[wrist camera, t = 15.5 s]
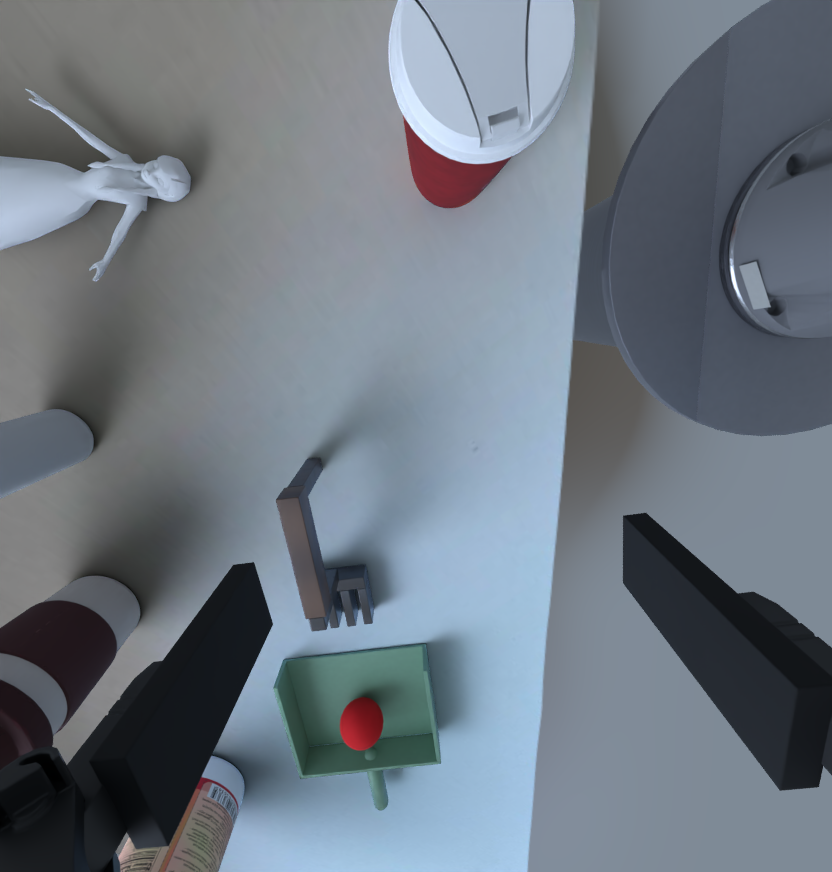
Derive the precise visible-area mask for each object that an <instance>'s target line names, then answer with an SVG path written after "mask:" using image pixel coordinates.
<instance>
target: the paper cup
mask: <svg viewBox="0 0 832 872" xmlns="http://www.w3.org/2000/svg"><path fill="white" fill-rule="evenodd" d="M574 55H575V15H574V5H573V0H398V2H397V5H396V8H395V11H394V14H393V18H392V23H391V29H390V34H389V49H388V56H389V71H390V76H391V82H392V87H393V90H394V93H395V96H396V99H397V102H398V105H399V107H400V109H401V111H402V113H403V118H404V125H405V132H406V139H407V146H408V153H409V159H410V165H411V170H412V175H413V178H414V181H415V184H416V186H417V188H418V189H419V191H420V192H421V194H422V195H423V196H424V197H425V198H426V199H427V200H428V201H429V202H431V203H433V204H434V205H437V206H439V207H443V208H456V207H460V206H463V205H465V204H467V203H469V202H470V201H472V200H473V199H474V198H475V197H476V196H477V195H478V194H479V193H480V192H481V191H482V190H483V189H484V188H485V187H486V186H487V185H488V184H489V183H490V181H491V180H492V179H493V178H494V177H495V176H496V175H497V174H498V172H499V171H500V170H501V169H502V168H503V167H504V166H505V164H506V163H507V162H508V161H509V160H510V159H511V157H512V156H513V155H516V154H517V153H519V152H520V151H522V150H523V149H525V148H526V147H528V146H529V145H530V144H531V143H533V142H534V141H535V140H536V139H537V138H538V137H539V136H540V135H541V134H542V133H543V132H544V130H545V129H546V128H547V127H548V125H549V124H550V123H551V121H552V120H553V118H554V117H555V115H556V113H557V112H558V110H559V108H560V106H561V104H562V102H563V99H564V97H565V95H566V92H567V89H568V86H569V82H570V79H571V75H572V69H573V64H574Z"/></svg>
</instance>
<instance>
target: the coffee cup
mask: <svg viewBox="0 0 832 872" xmlns="http://www.w3.org/2000/svg"><path fill="white" fill-rule="evenodd" d="M139 618H140V606H139V603H138V601H137V599H136V597H135V595H134V594H133V593H132V592H131V591H130V590H129V589H128V588H127V587H126V586H125V585H123V584H122V583H120V582H118V581H116V580H114V579H111V578H108V577H104V576H87V577H82V578H79V579H77V580H75V581H73V582H71V583H70V584H68V585H67V586H65V587H64V588H62V589H61V590H60V591H58V592H57V593H55V594H54V595H52V596H51V597H50V598H48V599H47V600H45V601H44V602H42V603H39V604H36V605H35V606H33V607H31V608H29V609H28V610H26V611H25V612H23V613H22V614H20V615H19V616H18V617H16V618H15V619H13V620H12V621H10V622H9V623H7V624H6V625H4V626H3V627H1V628H0V770H1V769H3V768H4V767H5V766H7V765H8V764H10V763H11V762H13V761H14V760H16V759H17V758H19V757H20V756H22V755H24V754H26V753H28V752H30V751H33V750H35V749H37V748H42V747H47V746H50V747H52V745H53V736H54V734H56V733H57V732H58V731H60V730H61V729H62V728H63V727H64V726H65V725H66V724H67V722H68V721H69V720H70V718H71V717H72V716H73V714H74V713H75V712H76V710H77V709H78V708H79V706H80V705H81V704H82V702H83V701H84V700H85V698H86V697H87V696H88V694H89V693H90V692H91V690H92V689H93V688H94V686H95V685H96V684H97V682H98V681H99V680H100V678H101V677H102V676H103V674H104V673H105V671H106V670H107V669H108V667H109V666H110V665H111V663H112V662H113V660H114V658H115V656H116V653H117V651H118V650H119V649H120V647H121V646H122V645H123V643H124V642H125V641H126V639H127V638H128V637H129V635H130V634H131V633H132V632H133V630H134V629H135V627H136V626H137V624H138V621H139Z"/></svg>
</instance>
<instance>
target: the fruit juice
mask: <svg viewBox="0 0 832 872" xmlns="http://www.w3.org/2000/svg"><path fill="white" fill-rule="evenodd" d="M244 788H245V786H244V780H243V777H242V775H241V773H240V772H239V771H238V770H237V768H236V767H234V766H233V765H232V764H231V763H229V762H227V761H225V760H223V759H221V758H218V757H215V756H211V758H210V760H209V762H208V764H207V766H206V768H205V770H204V772H203V775H202V777H201V779H200V781H199V783H198V785H197V787H196V789H195V792H194V794H193V796H192V798H191V800H190V802H189V804H188V807H187V809H186V811H185V813H184V815H183V817H182V819H181V821H180V824H179V826H178V828H177V830H176V832H175V834H174V836H173V839H172V841H171V843H170V845H169V846H165V847H154V848H143V849H136V848H135V846H134V844H133V843H132V841H131V839H130V837H129V839H128V840H127V842H126V844H125V846H124V848H123V850H122V852H121V854H120V855H119V857H118V859H119V861H120V870H121V872H218V871H219V868H220V865H221V862H222V859H223V856H224V853H225V850H226V847H227V844H228V841H229V839H230V836H231V833H232V830H233V827H234V824H235V821H236V818H237V815H238V812H239V809H240V806H241V803H242V800H243V795H244Z"/></svg>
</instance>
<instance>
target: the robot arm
mask: <svg viewBox="0 0 832 872" xmlns="http://www.w3.org/2000/svg"><path fill="white" fill-rule="evenodd" d="M719 271H720V277H721V282H722V286H723V289H724V292H725V295H726V297H727V299H728V301H729V303H730V305H731V306H732V308H733V309H734V311H735V312H736V313H737V314H738V316H739V317H740V318H741V319H742V320H744V321H745V322H746V323H747V324H748V325H750V326H751V327H753V328H755V329H756V330H758V331H760V332H763V333H766V334H768V335H772V336H776V337H784V338H798V339H814V338H822V337H831V336H832V118H831V119H829V120H827V121H824V122H822V123H820V124H818V125H815V126H813V127H811V128H809V129H807V130H805V131H803V132H801V133H799V134H797V135H795V136H793V137H792V138H790V139H789V140H787V141H785V142H784V143H783V144H781V145H780V146H779V147H777V148H776V149H775V150H774V151H772V152H771V153H770V154H769V155H768V156H767V157H766V158H765V159H764V160H763V161H762V162H761V163H760V164H759V165H758V166H757V167H756V168H755V170H754V171H753V172H752V173H751V174H750V176H749V177H748V179H747V180H746V181H745V183H744V184H743V186H742V187H741V189H740V191H739V192H738V194H737V196H736V198H735V200H734V202H733V204H732V206H731V208H730V210H729V213H728V215H727V218H726V221H725V224H724V228H723V232H722V236H721V242H720V249H719ZM623 583H624V585H625V586H626V588H627V589H628V590H629V592H630V593H631V594H632V595H633V597H634V598H635V599H636V601H637V602H638V603H639V605H640V606H641V607H642V609H643V610H644V611H645V613H646V614H647V615H648V617H649V618H650V619H651V621H652V622H653V623H654V625H655V626H656V627H657V628H658V630H659V631H660V633H661V634H662V635H663V636H664V638H665V639H666V640H667V642H668V643H669V644H670V646H671V647H672V648H673V650H674V651H675V652H676V654H677V655H678V656H679V658H680V659H681V660H682V662H683V663H684V664H685V666H686V667H687V668H688V670H689V671H690V672H691V673H692V675H693V676H694V677H695V679H696V680H697V681H698V682H699V684H700V685H701V687H702V688H703V689H704V691H705V692H706V693H707V695H708V696H709V697H710V698H711V700H712V701H713V703H714V704H715V705H716V707H717V708H718V709H719V710H720V712H721V713H722V714H723V716H724V717H725V718H726V720H727V721H728V722H729V724H730V725H731V726H732V728H733V729H734V730H735V732H736V733H737V734H738V736H739V737H740V738H741V740H742V741H743V742H744V743H745V745H746V746H747V747H748V749H749V750H750V751H751V753H752V754H753V755H754V757H755V758H756V759H757V761H758V762H759V763H760V765H761V766H762V767H763V769H764V770H765V771H766V773H767V774H768V775H769V777H770V778H771V779H772V781H773V782H774V783H775V785H776V786H777V787H778V788H779V790H792V789H803V788H814V787H819V783H820V779H821V773H822V769H823V766H824V767H825V768H826V769H827V770H828V771H829V773H830V774H831V775H832V648H831V647H830V646H828V645H827V644H826V643H825V642H824V641H823V640H821V639H820V638H819V637H815V636H814V633H813V632H812V631H810V630H809V629H808V628H807V627H805V626H804V625H803V624H802V623H798V620H797V619H796V618H794V617H793V616H792V615H790V614H789V613H788V612H786V610H784V609H783V608H782V607H780V606H779V605H778V604H776V603H774V602H772V601H771V600H768V599H766V598H765V597H763V596H761V595H759V594H757V593H755V592H748V593H739V594H738V593H736V592H735V591H734V590H733V589H732V588H731V587H729V586H728V585H727V584H726V583H725V582H724V581H723V580H722V579H720V578H719V577H718V576H717V575H716V574H715V573H714V572H713V571H711V570H710V569H709V568H708V567H707V566H706V565H705V564H703V563H702V562H701V561H700V560H699V559H698V558H697V557H695V556H694V555H693V554H692V553H691V552H690V551H689V550H688V549H686V548H685V547H684V546H683V545H682V544H681V543H680V542H678V541H677V540H676V539H675V538H674V537H673V536H672V535H670V534H669V533H668V532H667V531H666V530H665V529H664V528H662V527H661V526H660V525H659V524H658V523H657V522H656V521H655V520H653V519H652V518H651V517H650V516H649V515H648V514H647V513H641V514H633V515H626V516H623ZM272 625H273V623H272V619H271V616H270V613H269V610H268V606H267V603H266V600H265V597H264V593H263V590H262V587H261V584H260V580H259V577H258V574H257V571H256V567H255V564H254V562H252V563H245V564H237V565H233V566H232V568H231V569H230V570H229V572H228V573H227V574H226V576H225V577H224V578H223V580H222V581H221V582H220V584H219V585H218V587H217V588H216V589H215V591H214V592H213V593H212V595H211V596H210V597H209V599H208V600H207V601H206V603H205V604H204V605H203V607H202V608H201V610H200V611H199V612H198V614H197V615H196V616H195V618H194V619H193V620H192V622H191V623H190V624H189V626H188V627H187V629H186V630H185V631H184V633H183V634H182V635H181V637H180V638H179V639H178V641H177V642H176V643H175V645H174V646H173V648H172V649H171V650H170V652H169V653H168V654H167V656H166V657H165V658H164V660H163V661H158V662H153V663H152V664H151V665H150V666H148V667H147V668H146V669H145V670H144V671H143V672H141V673H140V674H139V675H138V676H137V677H136V678H134V680H133V681H132V682H131V684H130V685H129V686H128V687H127V689H126V690H125V691H124V693H123V694H122V695H121V696H120V697H121V698H120V700H117V702H116V703H115V704H114V705H113V707H112V708H111V709H110V711H109V714H108V715H107V716H105V717H104V718H103V720H102V721H101V722H100V723H99V725H98V726H97V727H96V729H95V730H94V731H93V732H92V734H91V735H90V736H89V738H88V739H87V740H86V741H85V743H84V744H83V745H82V747H81V748H80V749H79V750H78V752H77V753H76V754H75V756H74V757H73V758H72V759H71V761H70V762H69V763H68V765H66V763H65V762H64V760H63V758H62V756H61V754H60V753H59V751H58V749H57V748H54V747H50V746H47V747H42V748H37V749H35V750H33V751H30V752H28V753H26V754H24V755H22V756H20V757H19V758H17V759H16V760H14V761H13V762H11V763H10V764H8V765H7V766H5V767H4V768H3V769H1V770H0V872H121V870H120V861H119V859H118V857H117V854H116V852H115V851H116V850H117V848H118V846H119V844H120V843H121V841H122V839H123V837H124V835H125V834H126V832H127V833H128V835H129V837H130V839H131V841H132V843H133V844H134V846H135V848H136V849H143V848H154V847H165V846H169V845H170V843H171V841H172V839H173V836H174V834H175V832H176V830H177V828H178V826H179V824H180V821H181V819H182V817H183V815H184V813H185V811H186V809H187V807H188V804H189V802H190V800H191V798H192V796H193V794H194V792H195V789H196V787H197V785H198V783H199V781H200V779H201V777H202V775H203V772H204V770H205V768H206V766H207V764H208V762H209V760H210V758H211V755H212V753H213V751H214V749H215V747H216V745H217V743H218V740H219V738H220V736H221V734H222V732H223V730H224V728H225V726H226V723H227V721H228V719H229V717H230V715H231V713H232V711H233V708H234V706H235V704H236V702H237V700H238V698H239V696H240V694H241V691H242V689H243V687H244V685H245V683H246V681H247V679H248V677H249V674H250V672H251V670H252V668H253V666H254V664H255V662H256V659H257V657H258V655H259V653H260V651H261V649H262V647H263V645H264V642H265V640H266V638H267V636H268V634H269V632H270V630H271V627H272Z"/></svg>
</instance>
